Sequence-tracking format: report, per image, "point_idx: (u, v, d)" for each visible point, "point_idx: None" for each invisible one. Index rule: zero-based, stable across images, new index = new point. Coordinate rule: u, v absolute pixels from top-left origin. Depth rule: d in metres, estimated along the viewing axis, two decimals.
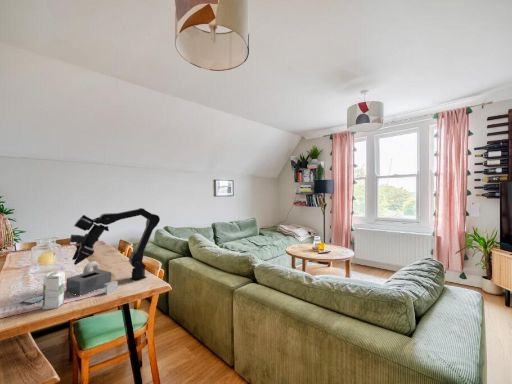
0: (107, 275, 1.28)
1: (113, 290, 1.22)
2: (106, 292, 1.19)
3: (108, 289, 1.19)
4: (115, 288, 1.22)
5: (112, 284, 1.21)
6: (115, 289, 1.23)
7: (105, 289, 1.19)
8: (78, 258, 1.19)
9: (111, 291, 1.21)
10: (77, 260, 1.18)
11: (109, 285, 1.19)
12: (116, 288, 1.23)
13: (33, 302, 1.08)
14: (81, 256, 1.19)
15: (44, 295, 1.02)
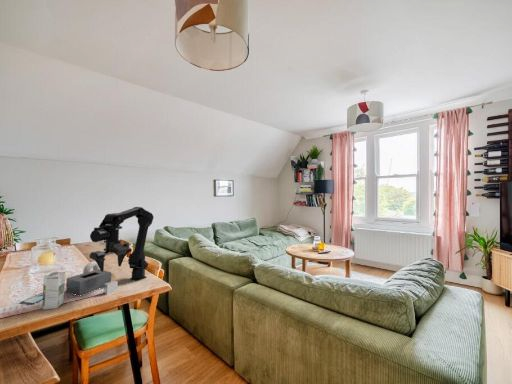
0: (107, 275, 1.28)
1: (113, 290, 1.22)
2: (106, 292, 1.19)
3: (108, 289, 1.19)
4: (115, 288, 1.22)
5: (112, 284, 1.21)
6: (115, 289, 1.23)
7: (105, 289, 1.19)
8: None
9: (111, 291, 1.21)
10: None
11: (109, 285, 1.19)
12: (116, 288, 1.23)
13: (33, 302, 1.08)
14: None
15: (44, 295, 1.02)
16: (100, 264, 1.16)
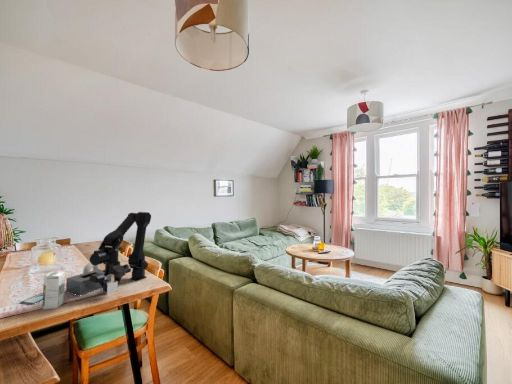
0: None
1: (113, 290, 1.22)
2: (106, 292, 1.19)
3: (108, 288, 1.19)
4: (115, 288, 1.22)
5: (112, 284, 1.21)
6: (115, 289, 1.23)
7: None
8: None
9: (111, 291, 1.21)
10: None
11: (109, 285, 1.19)
12: (116, 288, 1.23)
13: (33, 302, 1.08)
14: None
15: (44, 295, 1.02)
16: (103, 285, 1.18)
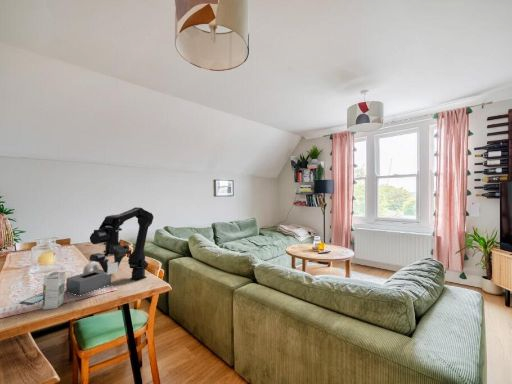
0: (107, 275, 1.28)
1: (113, 270, 1.22)
2: (106, 272, 1.19)
3: (108, 269, 1.19)
4: (115, 269, 1.22)
5: (112, 264, 1.21)
6: (115, 270, 1.23)
7: None
8: None
9: (111, 271, 1.21)
10: None
11: (109, 265, 1.20)
12: (116, 269, 1.23)
13: (33, 302, 1.08)
14: None
15: (44, 295, 1.02)
16: (103, 265, 1.18)
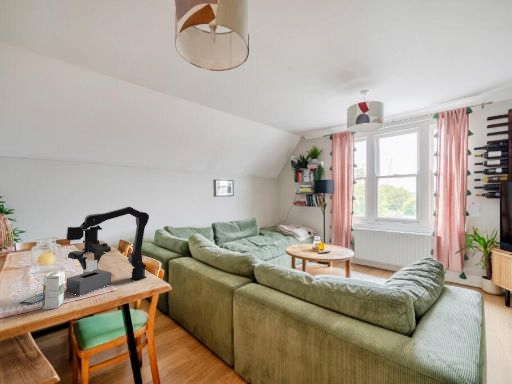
0: (107, 275, 1.28)
1: (92, 268, 1.25)
2: (85, 269, 1.23)
3: (87, 266, 1.23)
4: (94, 266, 1.26)
5: (91, 262, 1.25)
6: (94, 267, 1.26)
7: None
8: None
9: (90, 269, 1.24)
10: None
11: (88, 263, 1.23)
12: (96, 266, 1.27)
13: (33, 302, 1.08)
14: None
15: (44, 295, 1.02)
16: (82, 263, 1.21)
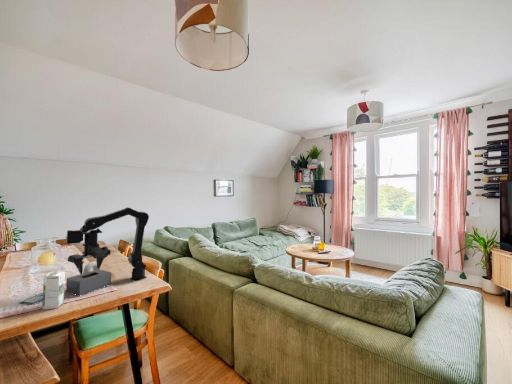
0: (107, 275, 1.28)
1: None
2: None
3: None
4: None
5: None
6: None
7: None
8: None
9: None
10: None
11: None
12: None
13: (33, 302, 1.08)
14: None
15: (44, 295, 1.02)
16: (79, 267, 1.20)
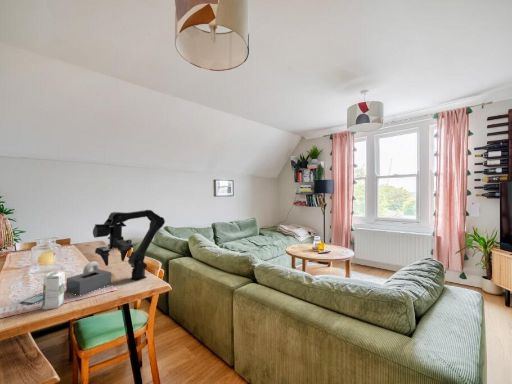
0: (107, 275, 1.28)
1: None
2: None
3: None
4: None
5: None
6: None
7: None
8: None
9: None
10: None
11: None
12: None
13: (33, 302, 1.08)
14: None
15: (44, 295, 1.02)
16: (105, 259, 1.25)
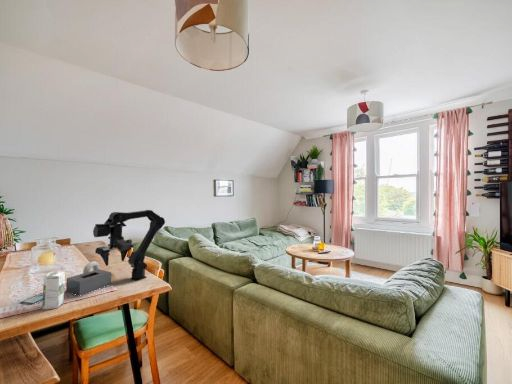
0: (107, 275, 1.28)
1: None
2: None
3: None
4: None
5: None
6: None
7: None
8: None
9: None
10: None
11: None
12: None
13: (33, 302, 1.08)
14: None
15: (44, 295, 1.02)
16: (105, 258, 1.25)
